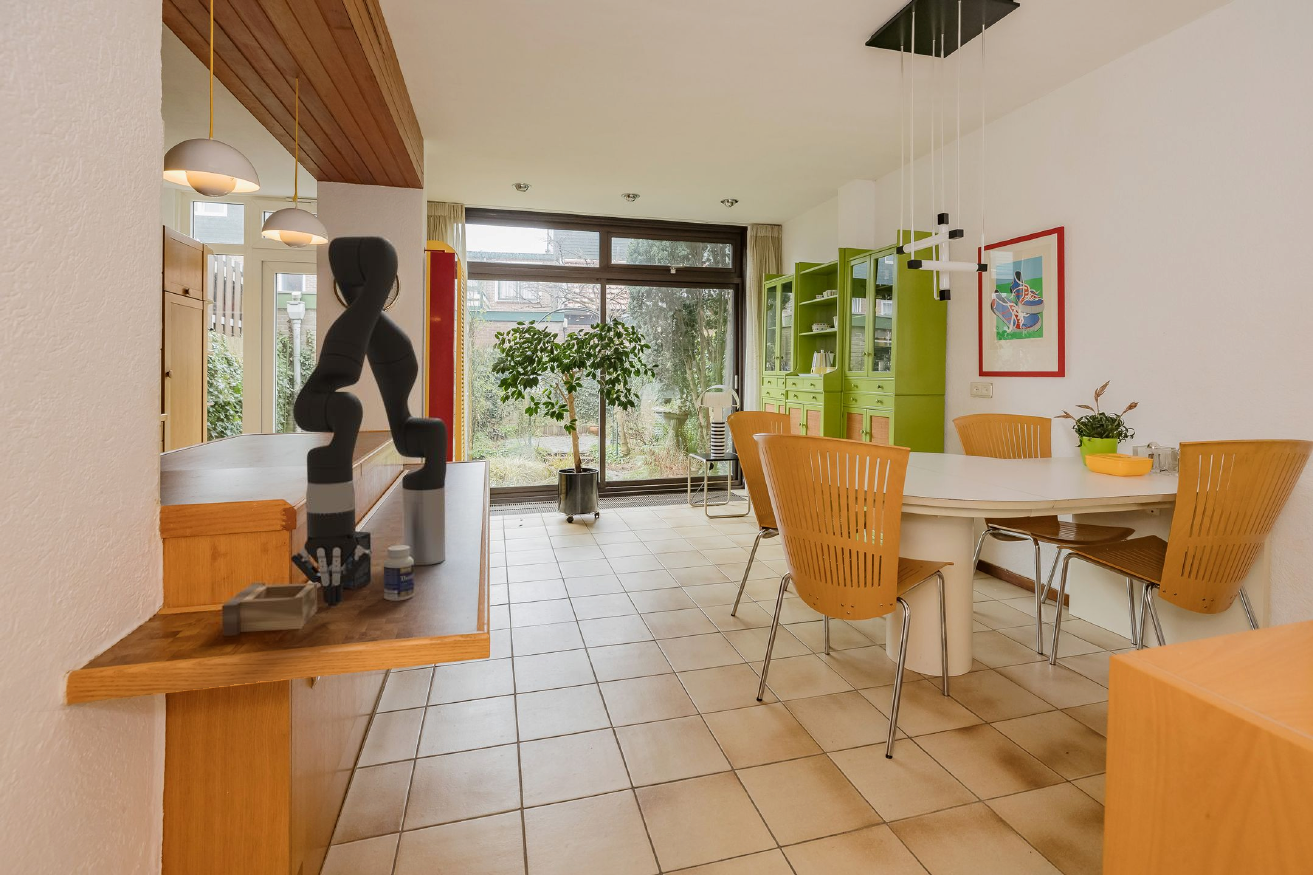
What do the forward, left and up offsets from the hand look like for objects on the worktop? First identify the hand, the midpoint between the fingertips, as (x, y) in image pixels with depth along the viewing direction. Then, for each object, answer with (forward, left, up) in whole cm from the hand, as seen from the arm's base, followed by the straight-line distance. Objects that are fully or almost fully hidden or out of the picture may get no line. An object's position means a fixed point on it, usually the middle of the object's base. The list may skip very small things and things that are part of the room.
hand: (333, 604), depth 113 cm
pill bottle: (-10, +9, -3) cm, 14 cm away
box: (-20, -3, -3) cm, 20 cm away
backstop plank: (0, -14, -2) cm, 14 cm away
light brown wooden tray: (0, -8, -2) cm, 9 cm away
